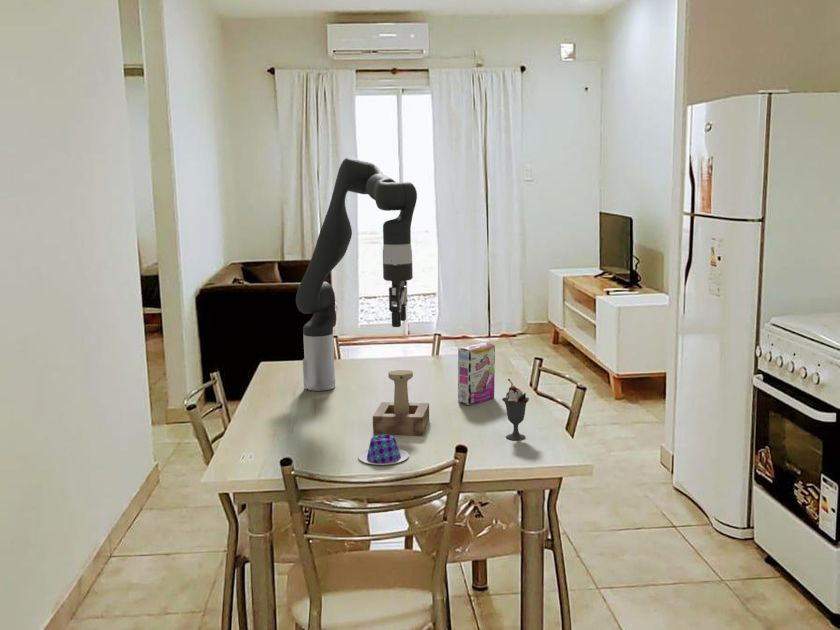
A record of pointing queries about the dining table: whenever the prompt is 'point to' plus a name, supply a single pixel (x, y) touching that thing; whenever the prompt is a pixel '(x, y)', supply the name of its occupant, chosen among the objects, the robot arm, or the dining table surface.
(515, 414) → the sundae
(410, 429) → the collar block
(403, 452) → the pudding
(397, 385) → the handle
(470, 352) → the candy bar box
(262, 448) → the dining table surface
